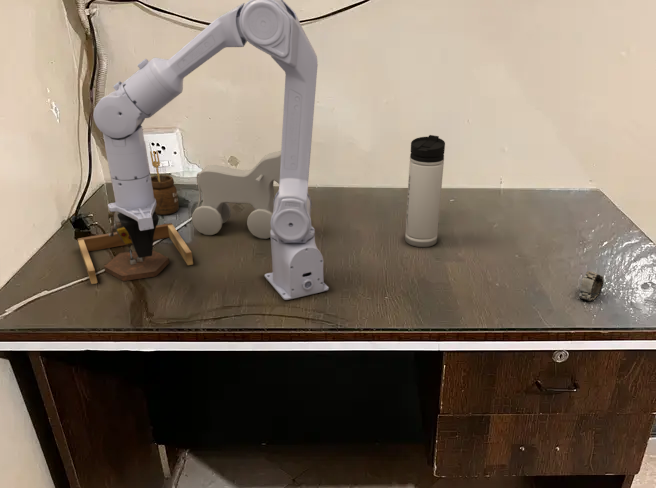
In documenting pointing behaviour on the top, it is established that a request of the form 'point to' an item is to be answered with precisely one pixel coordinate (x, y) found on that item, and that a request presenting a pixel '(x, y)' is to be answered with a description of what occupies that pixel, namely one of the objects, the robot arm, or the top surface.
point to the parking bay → (114, 241)
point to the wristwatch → (591, 286)
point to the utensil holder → (163, 190)
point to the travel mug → (424, 190)
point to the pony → (237, 195)
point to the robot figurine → (133, 258)
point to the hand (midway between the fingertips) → (144, 255)
